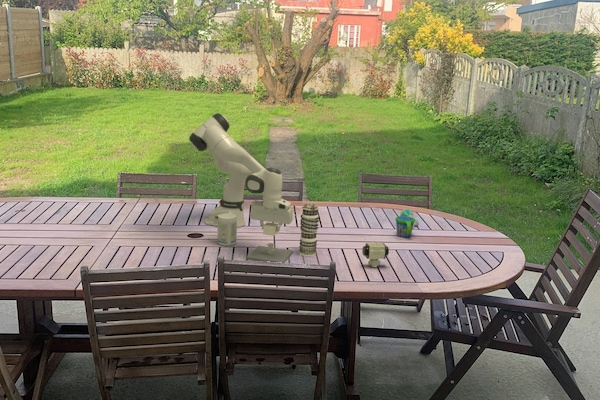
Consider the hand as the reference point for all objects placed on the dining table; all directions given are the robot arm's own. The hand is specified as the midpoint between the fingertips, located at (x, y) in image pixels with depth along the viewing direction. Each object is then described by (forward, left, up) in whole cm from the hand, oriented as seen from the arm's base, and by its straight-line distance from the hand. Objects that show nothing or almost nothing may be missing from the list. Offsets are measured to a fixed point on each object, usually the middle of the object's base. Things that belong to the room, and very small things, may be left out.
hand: (270, 230), depth 290 cm
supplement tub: (-26, +9, -13) cm, 30 cm away
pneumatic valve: (+50, +6, -13) cm, 52 cm away
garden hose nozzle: (+60, +87, -14) cm, 106 cm away
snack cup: (+59, +61, -13) cm, 86 cm away
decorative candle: (+16, +11, -13) cm, 24 cm away
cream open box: (0, 0, -2) cm, 2 cm away
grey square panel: (0, 0, -13) cm, 13 cm away
